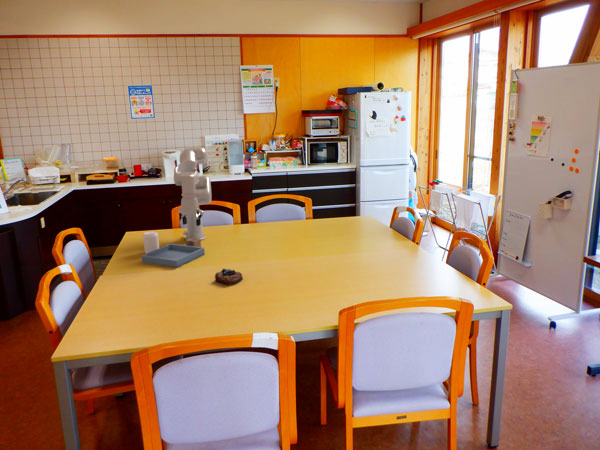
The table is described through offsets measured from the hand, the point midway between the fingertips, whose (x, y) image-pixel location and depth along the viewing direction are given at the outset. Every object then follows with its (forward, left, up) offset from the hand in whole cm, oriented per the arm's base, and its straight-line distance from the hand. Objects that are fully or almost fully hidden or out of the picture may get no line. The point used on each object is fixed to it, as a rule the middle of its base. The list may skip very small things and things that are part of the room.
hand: (191, 224), depth 276 cm
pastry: (+47, -35, -16) cm, 61 cm away
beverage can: (-19, -14, -15) cm, 28 cm away
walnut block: (0, 0, -15) cm, 15 cm away
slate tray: (0, -18, -15) cm, 23 cm away
